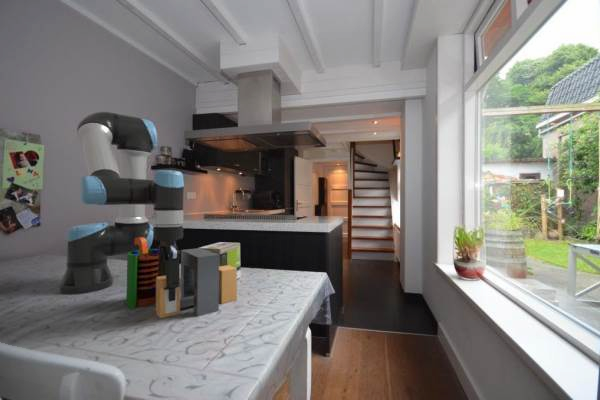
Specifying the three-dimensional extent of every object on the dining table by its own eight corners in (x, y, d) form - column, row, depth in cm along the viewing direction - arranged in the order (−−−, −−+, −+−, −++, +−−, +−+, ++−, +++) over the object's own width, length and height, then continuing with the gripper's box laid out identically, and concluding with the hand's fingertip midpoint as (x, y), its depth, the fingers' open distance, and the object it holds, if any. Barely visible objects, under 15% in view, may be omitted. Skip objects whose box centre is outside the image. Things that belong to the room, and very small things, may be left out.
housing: (180, 301, 84) (181, 250, 84) (199, 296, 88) (200, 248, 88) (197, 316, 72) (197, 257, 72) (218, 310, 76) (218, 254, 76)
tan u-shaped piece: (155, 312, 75) (155, 276, 75) (228, 295, 89) (228, 265, 89) (160, 319, 70) (160, 281, 71) (236, 299, 85) (236, 268, 85)
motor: (143, 309, 77) (144, 240, 77) (117, 307, 79) (118, 239, 79) (167, 297, 87) (168, 236, 87) (144, 295, 89) (144, 235, 89)
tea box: (220, 276, 113) (220, 241, 113) (241, 278, 110) (241, 242, 110) (196, 286, 98) (197, 246, 99) (220, 289, 95) (220, 248, 96)
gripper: (146, 224, 79) (146, 302, 79) (161, 228, 65) (161, 323, 65) (173, 223, 84) (173, 297, 84) (193, 227, 70) (192, 315, 70)
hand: (167, 308), depth 74 cm, fingers closed on tan u-shaped piece, 5 cm apart
